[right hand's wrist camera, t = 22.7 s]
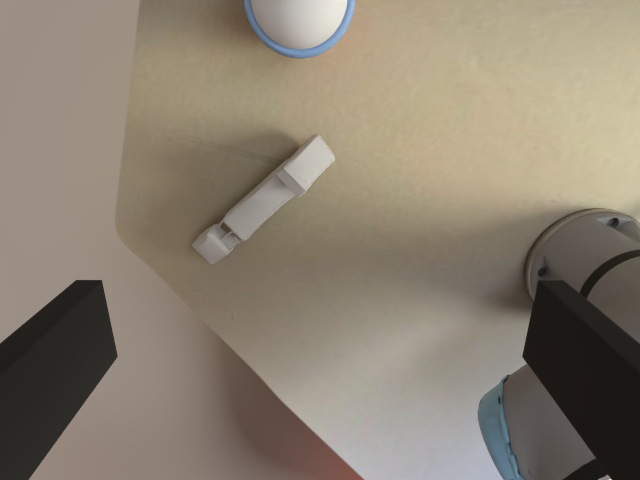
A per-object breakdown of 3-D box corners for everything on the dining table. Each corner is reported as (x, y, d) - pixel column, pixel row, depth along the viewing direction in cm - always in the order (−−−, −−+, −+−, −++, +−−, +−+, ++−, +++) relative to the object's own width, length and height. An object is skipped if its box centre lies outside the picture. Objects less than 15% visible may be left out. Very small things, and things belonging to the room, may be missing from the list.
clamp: (316, 129, 47) (310, 141, 41) (338, 154, 48) (335, 170, 42) (199, 232, 54) (179, 256, 48) (220, 253, 55) (203, 279, 49)
